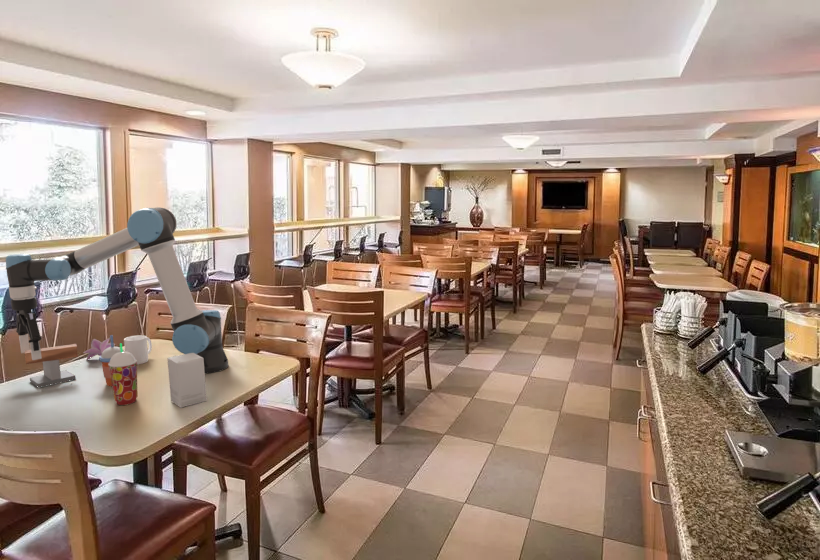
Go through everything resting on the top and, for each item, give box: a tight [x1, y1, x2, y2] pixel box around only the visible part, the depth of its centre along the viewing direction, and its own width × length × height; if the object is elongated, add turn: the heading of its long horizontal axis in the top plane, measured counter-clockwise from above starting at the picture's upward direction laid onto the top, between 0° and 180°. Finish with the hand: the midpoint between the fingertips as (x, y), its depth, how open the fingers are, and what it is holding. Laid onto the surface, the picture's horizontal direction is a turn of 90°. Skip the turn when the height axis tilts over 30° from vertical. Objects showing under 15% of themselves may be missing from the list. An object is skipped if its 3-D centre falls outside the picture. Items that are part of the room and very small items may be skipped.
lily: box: [83, 337, 116, 361], centre depth 233 cm, size 12×12×10 cm
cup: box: [123, 335, 153, 365], centre depth 231 cm, size 8×12×10 cm
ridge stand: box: [29, 359, 77, 388], centre depth 207 cm, size 10×12×8 cm
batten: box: [24, 343, 79, 365], centre depth 206 cm, size 4×16×4 cm, turn 123°
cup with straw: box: [99, 334, 125, 387], centre depth 202 cm, size 9×9×18 cm
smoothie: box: [108, 342, 138, 406], centre depth 184 cm, size 8×8×20 cm
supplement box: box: [167, 353, 207, 408], centre depth 185 cm, size 9×9×15 cm
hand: (31, 355), depth 202 cm, fingers open, 13 cm apart
